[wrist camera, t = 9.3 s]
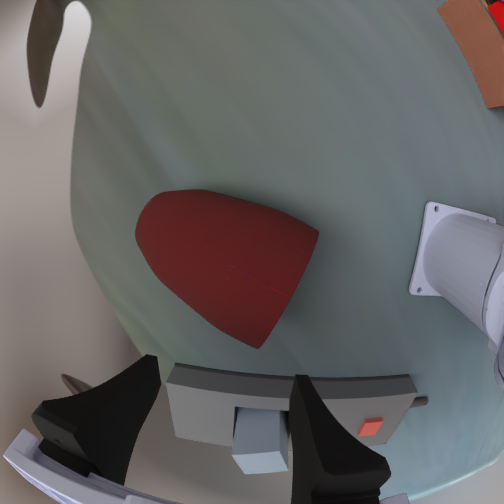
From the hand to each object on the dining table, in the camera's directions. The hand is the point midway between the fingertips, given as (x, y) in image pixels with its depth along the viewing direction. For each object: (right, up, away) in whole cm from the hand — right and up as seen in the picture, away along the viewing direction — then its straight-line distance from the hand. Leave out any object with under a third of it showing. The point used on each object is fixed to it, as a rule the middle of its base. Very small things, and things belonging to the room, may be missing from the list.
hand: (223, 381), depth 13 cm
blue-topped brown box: (+31, +29, 0) cm, 42 cm away
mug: (-6, +8, +6) cm, 11 cm away
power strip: (+8, -10, +12) cm, 17 cm away
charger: (+3, -9, +12) cm, 15 cm away
